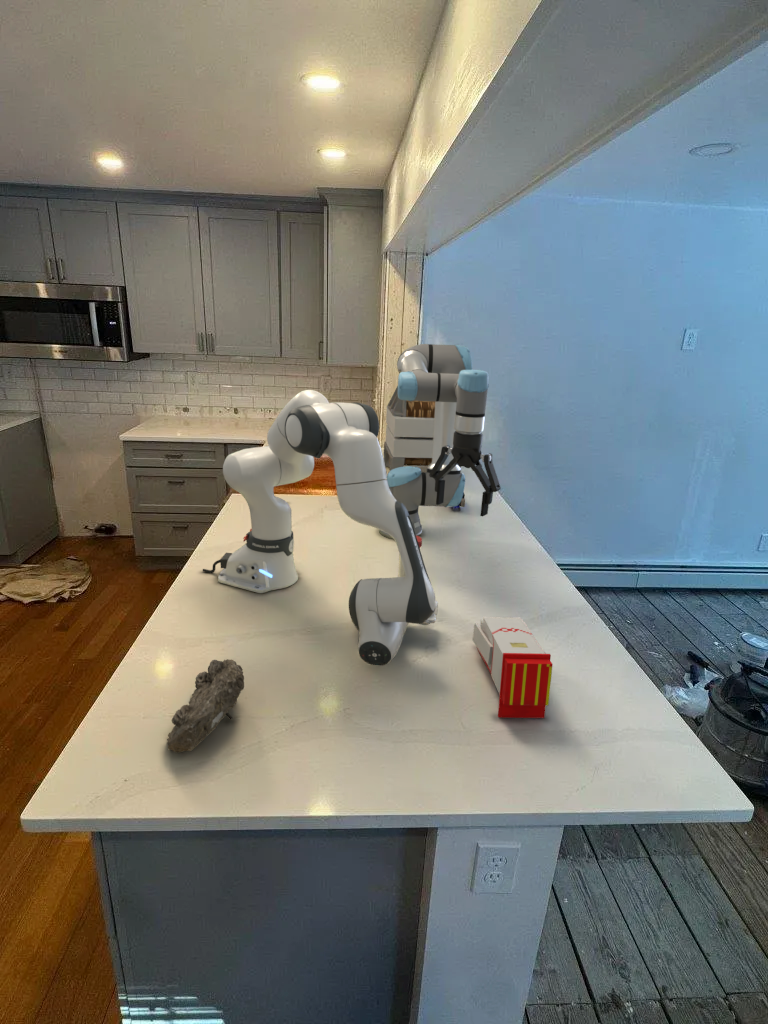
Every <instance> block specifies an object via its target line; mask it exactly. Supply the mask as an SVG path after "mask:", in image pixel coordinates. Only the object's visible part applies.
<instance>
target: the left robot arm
mask: <svg viewBox="0 0 768 1024" xmlns="http://www.w3.org/2000/svg"><path fill="white" fill-rule="evenodd" d="M379 420H380V419H379V417H378V414H377V411H376V410H375V409H374V408H373V407H372V406H370V405H369V404H366V403H362V402H356V401H355V402H353V401H352V402H343V401H342V402H339V401H338V402H337V401H333V402H332V401H331V402H329V400H328V398H327V397H326V396H325V395H324V394H322V393H321V392H319V391H317V390H314V389H304V390H301V391H300V392H298V393H297V394H295V395H294V396H293V397H292V398H291V399H290V400H289V401H288V402H287V403H286V404H285V406H284V407H283V408H282V409H281V411H280V412H279V414H278V415H277V416H276V418H275V420H274V421H273V423H272V424H271V426H270V427H269V429H268V431H267V435H266V440H267V441H266V442H267V445H263V446H256V447H250V448H243V449H241V450H237V451H235V452H232V453H230V454H228V455H227V456H226V457H225V459H224V462H223V465H222V475H223V478H224V480H225V482H226V484H227V485H228V486H229V487H230V488H231V489H232V490H233V491H236V492H237V493H239V494H240V495H241V496H242V497H243V498H244V500H245V502H246V503H247V507H248V509H249V514H250V515H249V516H250V525H251V527H250V530H249V531H248V532H247V533H246V535H245V536H244V537H243V538H242V539H243V542H246V543H245V544H243V545H241V546H240V547H239V548H237V549H236V550H234V551H233V552H225V553H224V554H223V555H222V556H221V558H220V559H217V560H215V561H214V562H213V563H212V568H211V569H207V568H202V572H203V573H208V574H213V573H214V572H216V566H217V565H218V564H220V569H222V570H220V572H219V573H218V577H217V578H218V579H217V581H218V583H221V584H223V585H228V586H232V587H235V588H240V589H243V590H245V591H246V590H247V591H249V592H255V593H257V594H264V593H267V592H270V591H275V590H281V589H285V588H288V587H291V586H293V585H294V584H296V582H298V580H299V574H298V571H297V568H296V564H295V558H294V557H295V556H294V551H295V549H294V548H295V539H294V531H293V523H292V522H293V521H292V520H293V519H292V517H293V516H292V511H293V509H292V507H291V506H290V504H289V502H288V501H286V500H285V499H284V498H282V497H278V496H276V495H275V490H274V489H275V487H279V486H285V485H289V484H294V483H297V482H300V481H303V480H305V479H307V478H309V477H310V476H311V475H312V474H313V472H314V468H315V459H321V457H322V456H323V455H326V456H328V457H329V458H330V459H331V461H332V463H333V468H334V478H335V488H336V494H337V500H338V504H339V507H340V509H341V510H342V512H343V513H344V514H345V515H346V516H347V517H348V518H349V519H350V520H352V521H354V522H356V523H358V524H361V525H364V526H367V527H371V528H374V529H377V530H379V529H380V530H382V531H384V532H386V533H388V534H389V535H390V536H392V537H393V539H392V540H394V542H395V544H396V547H397V551H398V555H399V554H400V557H401V561H402V564H403V568H404V571H405V575H406V576H404V577H398V576H397V577H375V578H363V579H360V580H358V581H357V582H356V583H355V585H354V586H353V588H352V590H351V592H350V594H349V597H348V613H349V616H350V620H351V622H352V623H353V625H354V626H355V628H356V629H357V630H358V631H359V633H358V634H359V635H358V644H357V653H358V655H359V657H360V659H361V660H363V662H365V663H366V664H368V665H371V666H378V667H379V666H386V665H387V664H389V663H391V662H392V661H393V659H394V658H395V657H396V655H397V654H398V652H399V650H400V647H401V645H402V642H403V639H404V635H405V634H406V631H407V629H408V626H409V624H415V625H416V624H417V625H423V626H427V625H431V624H435V622H436V620H437V614H438V608H439V601H437V600H436V598H437V597H436V593H435V590H434V587H433V585H432V582H431V579H430V577H429V574H428V571H427V569H426V565H425V562H424V559H423V555H422V551H421V547H420V548H419V544H418V541H417V537H416V534H415V531H414V528H413V525H412V522H411V519H410V516H409V513H408V511H407V509H406V507H405V506H404V504H403V503H401V502H398V501H397V500H396V499H395V498H394V496H393V495H392V493H391V491H390V489H389V486H388V481H387V475H388V473H387V469H386V466H385V462H384V453H383V450H382V447H381V444H380V441H379V438H378V436H379V433H380V421H379Z"/></svg>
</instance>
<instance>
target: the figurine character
mask: <svg viewBox="0 0 768 1024" xmlns="http://www.w3.org/2000/svg"><path fill="white" fill-rule="evenodd" d="M465 496H466V494H465V492H464V493H463V497H462V500H461V502H460V503H459V505H457V506H455V507H450V509H451V511H454V509H458V511H461V510H462V509H461V508H465V505H466V497H465Z"/></svg>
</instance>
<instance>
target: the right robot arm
mask: <svg viewBox="0 0 768 1024" xmlns="http://www.w3.org/2000/svg"><path fill="white" fill-rule="evenodd" d="M396 367H397V372H398V378H397V379H398V380H397V386H398V398H399V399H401V400H408V401H435V415H434V433H433V451H432V463H431V464H430V465H428V466H426V472H424V471H423V472H422V469H421V468H420V467H419V466H407V465H404V467H398V468H395V469H392V470H391V471H390V470H389V471H388V473H387V481H388V486H389V489H390V491H391V493H392V495H393V496H394V498H395V499H396V500H397V501H398V502H401V503H403V504H404V506H405V507H406V509H407V511H408V513H409V516H410V519H411V522H412V525H413V528H414V531H415V534H416V536H419V537H421V536H422V535H423V525H422V524H421V518H420V515H419V507H444V508H451V507H455V506H457V505H459V503H460V502H461V500H462V497H463V493H464V494H465V492H464V491H465V486H466V475H465V474H464V473H463V472H462V468H465V469H471V471H472V472H473V473H474V474H475V475H476V478H477V479H478V481H479V483H480V484H481V486H482V488H483V489H484V490H485V491H482V496H481V497H482V498H481V505H480V517H485V516H487V515H488V514H489V505H491V504H492V503H493V498H494V497H493V495H494V493H496V492H498V491H500V490H502V487H501V484H500V480H499V478H498V474H497V472H496V468H495V466H494V463H493V453H492V452H489V453H482V447H483V438H484V434H483V432H484V430H485V429H484V427H485V419H486V418H485V417H486V406H487V398H488V391H489V387H490V385H489V378H490V377H489V373H488V371H486V370H481V369H473V359H472V354H471V350H470V349H469V348H468V347H467V346H464V345H457V344H436V343H435V344H434V343H433V344H432V343H419V344H416V345H413V346H410V347H408V348H406V349H405V350H403V351H402V352H401V353H400V354H399V356H398V358H397V361H396ZM480 460H481V461H482V463H483V465H484V468H483V465H482V464H481V461H480ZM459 466H460V467H461V468H460V467H459ZM484 469H485V470H484ZM485 471H486V472H485ZM378 533H379V534H380V535H381V536H382V537H385V538H387V539H389V540H394V539H393V537H392V536H390V535H389V534H388V533H386V532H384V531H382V530H380V529H378Z"/></svg>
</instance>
